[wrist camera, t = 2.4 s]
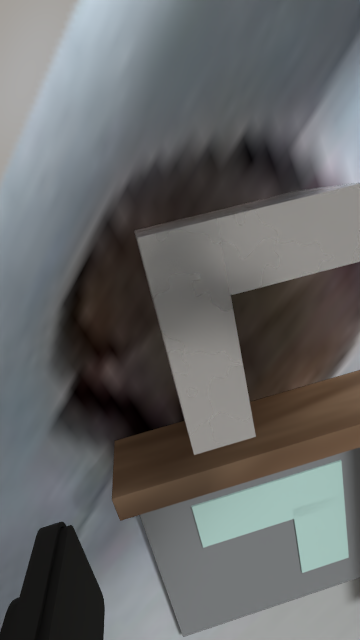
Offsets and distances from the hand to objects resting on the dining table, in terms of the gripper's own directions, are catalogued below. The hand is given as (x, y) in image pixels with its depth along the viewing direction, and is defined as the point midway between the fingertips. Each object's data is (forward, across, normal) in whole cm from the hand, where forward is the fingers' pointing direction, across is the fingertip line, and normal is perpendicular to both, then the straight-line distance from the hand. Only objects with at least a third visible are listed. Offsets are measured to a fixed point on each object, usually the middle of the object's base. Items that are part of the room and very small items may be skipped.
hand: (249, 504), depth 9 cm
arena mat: (+12, -4, +15) cm, 19 cm away
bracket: (+11, -4, -2) cm, 12 cm away
